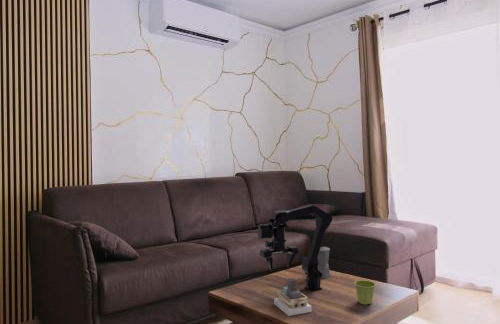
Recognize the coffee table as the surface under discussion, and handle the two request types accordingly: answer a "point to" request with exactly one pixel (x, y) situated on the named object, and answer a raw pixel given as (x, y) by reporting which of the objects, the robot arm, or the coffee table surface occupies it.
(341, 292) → the coffee table surface
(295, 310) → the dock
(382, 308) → the coffee table surface
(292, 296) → the charcoal block
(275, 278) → the coffee table surface
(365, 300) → the plant pot
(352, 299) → the coffee table surface
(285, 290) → the teal block
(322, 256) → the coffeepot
